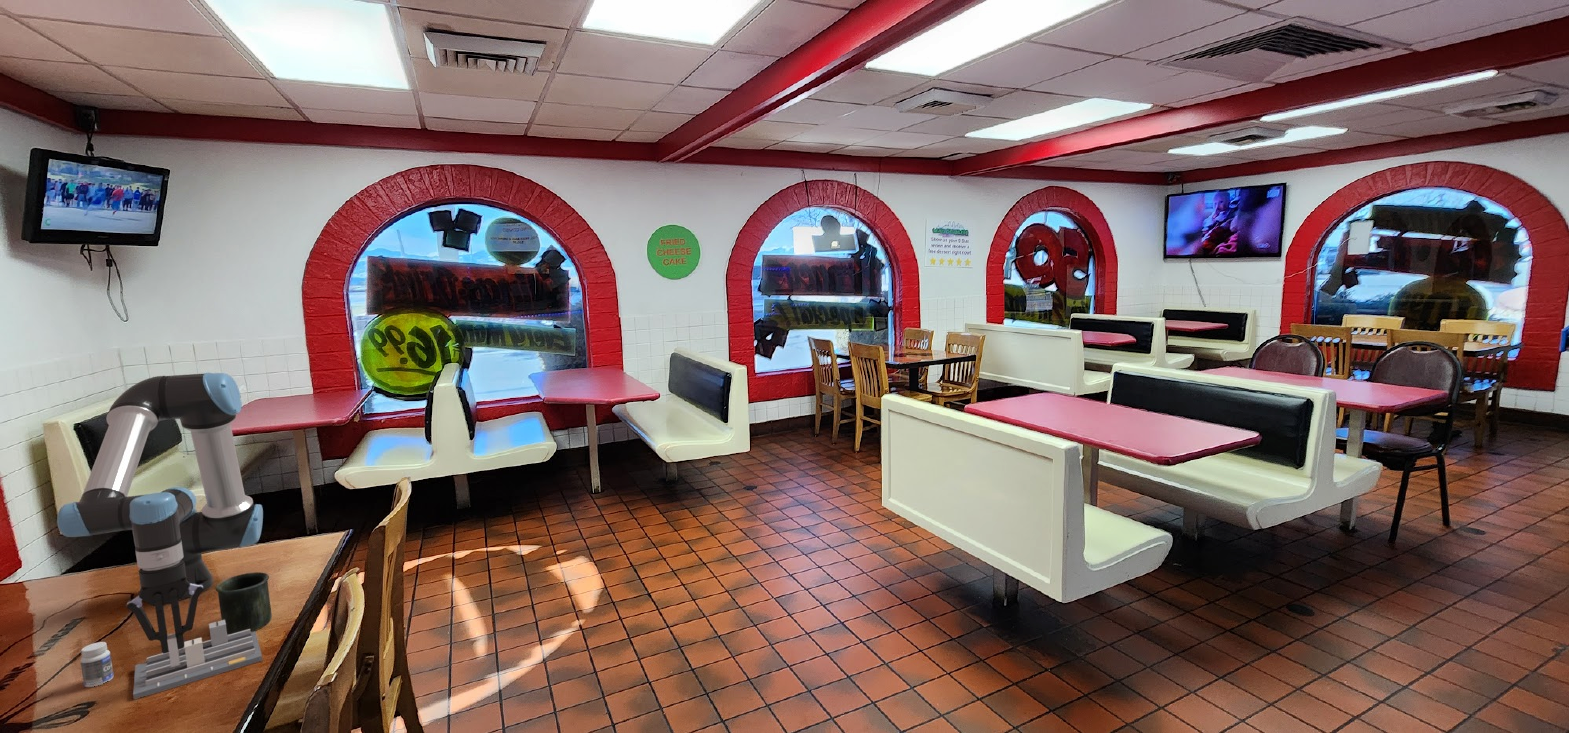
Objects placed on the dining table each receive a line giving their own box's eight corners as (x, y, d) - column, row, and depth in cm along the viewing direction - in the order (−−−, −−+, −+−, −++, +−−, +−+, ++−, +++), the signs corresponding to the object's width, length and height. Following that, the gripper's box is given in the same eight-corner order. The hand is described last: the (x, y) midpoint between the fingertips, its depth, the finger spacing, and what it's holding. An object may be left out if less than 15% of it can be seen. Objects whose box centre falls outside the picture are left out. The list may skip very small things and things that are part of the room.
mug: (221, 641, 170) (215, 595, 168) (220, 619, 181) (214, 575, 179) (275, 626, 177) (270, 582, 175) (271, 606, 188) (266, 564, 186)
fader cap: (187, 664, 157) (184, 641, 156) (204, 659, 159) (201, 636, 158) (187, 670, 155) (184, 646, 154) (205, 664, 157) (201, 642, 156)
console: (136, 669, 158) (131, 642, 157) (256, 635, 172) (252, 610, 171) (133, 699, 147) (129, 670, 146) (262, 660, 161) (259, 633, 160)
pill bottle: (110, 683, 153) (105, 648, 152) (81, 690, 150) (75, 654, 149) (116, 673, 157) (111, 638, 156) (87, 679, 154) (82, 644, 153)
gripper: (119, 578, 144) (135, 682, 148) (200, 561, 153) (213, 659, 156) (121, 567, 150) (136, 667, 153) (199, 550, 158) (212, 646, 162)
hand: (175, 663), depth 155 cm, fingers closed
